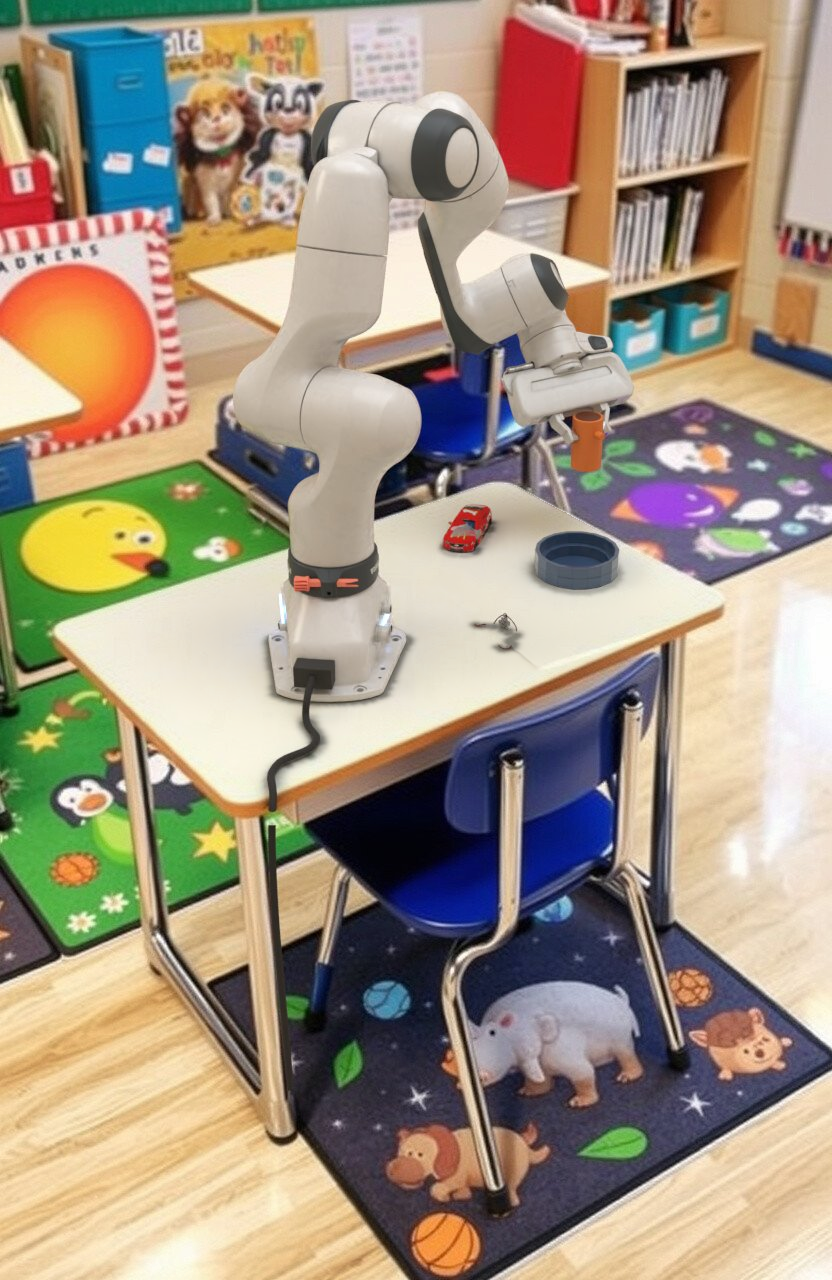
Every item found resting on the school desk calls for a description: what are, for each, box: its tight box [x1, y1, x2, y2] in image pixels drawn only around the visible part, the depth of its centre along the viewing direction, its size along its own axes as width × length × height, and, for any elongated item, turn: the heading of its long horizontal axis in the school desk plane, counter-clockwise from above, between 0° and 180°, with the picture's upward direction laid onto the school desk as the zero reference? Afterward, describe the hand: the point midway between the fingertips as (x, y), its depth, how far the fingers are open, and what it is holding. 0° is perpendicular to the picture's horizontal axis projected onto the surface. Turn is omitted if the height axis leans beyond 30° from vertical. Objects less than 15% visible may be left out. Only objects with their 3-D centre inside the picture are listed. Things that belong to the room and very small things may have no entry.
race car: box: [442, 503, 493, 553], centre depth 217 cm, size 13×5×4 cm, turn 161°
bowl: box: [534, 530, 620, 590], centre depth 206 cm, size 12×12×4 cm
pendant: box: [474, 612, 518, 650], centre depth 191 cm, size 8×4×3 cm, turn 35°
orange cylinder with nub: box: [570, 411, 606, 473], centre depth 209 cm, size 6×5×8 cm
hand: (589, 438), depth 209 cm, fingers closed on orange cylinder with nub, 4 cm apart
